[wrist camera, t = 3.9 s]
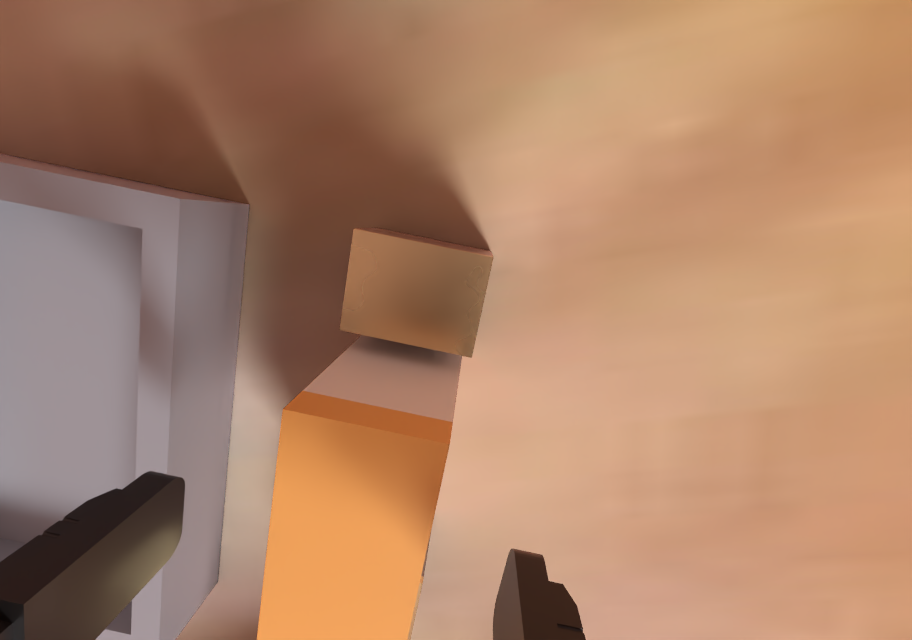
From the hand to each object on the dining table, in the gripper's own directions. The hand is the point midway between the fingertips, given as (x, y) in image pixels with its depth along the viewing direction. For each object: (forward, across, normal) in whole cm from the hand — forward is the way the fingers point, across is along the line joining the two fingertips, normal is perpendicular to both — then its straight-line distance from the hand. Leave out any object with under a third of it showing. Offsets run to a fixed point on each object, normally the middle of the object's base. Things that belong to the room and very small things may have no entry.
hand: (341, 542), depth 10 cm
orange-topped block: (+6, 0, 0) cm, 6 cm away
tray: (+6, +12, +1) cm, 13 cm away
